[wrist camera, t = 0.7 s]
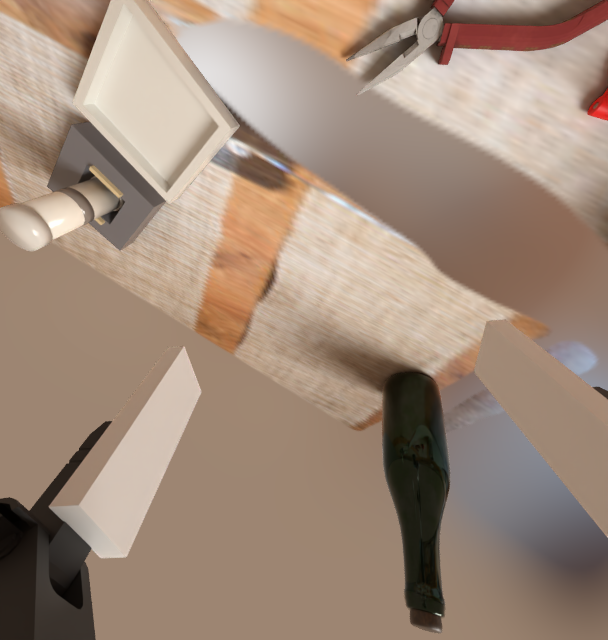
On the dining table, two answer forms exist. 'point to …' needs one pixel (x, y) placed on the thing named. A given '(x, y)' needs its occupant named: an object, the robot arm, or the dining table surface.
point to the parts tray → (152, 99)
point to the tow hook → (600, 107)
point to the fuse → (56, 213)
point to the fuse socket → (107, 182)
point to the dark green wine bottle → (417, 487)
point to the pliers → (475, 36)
